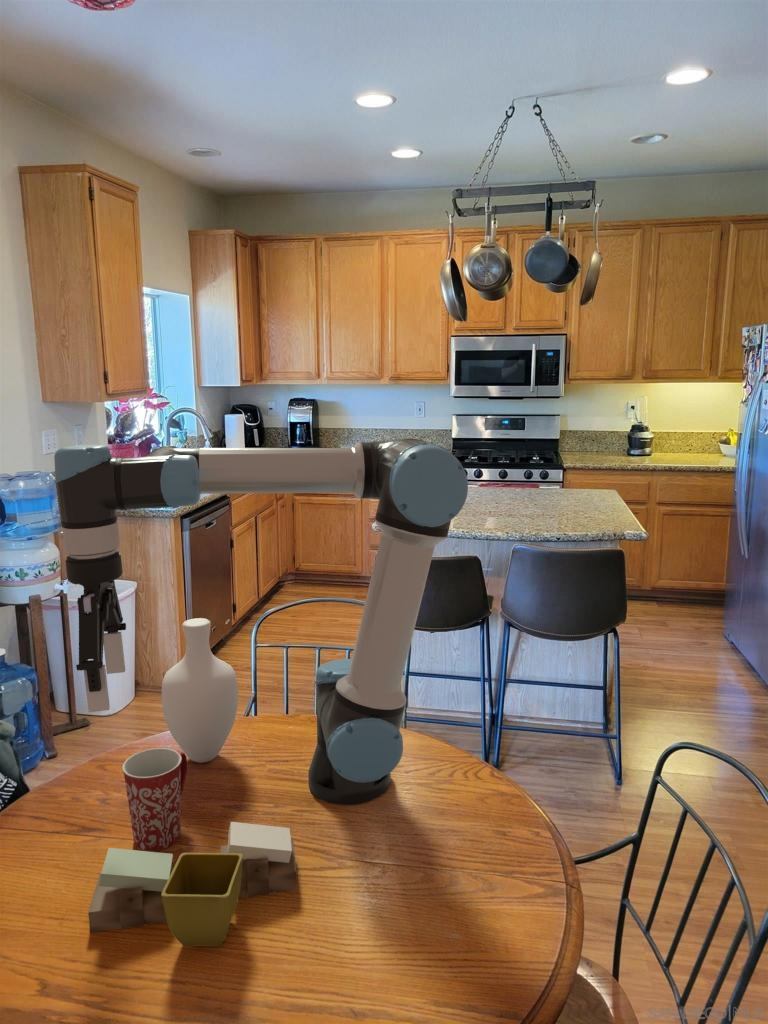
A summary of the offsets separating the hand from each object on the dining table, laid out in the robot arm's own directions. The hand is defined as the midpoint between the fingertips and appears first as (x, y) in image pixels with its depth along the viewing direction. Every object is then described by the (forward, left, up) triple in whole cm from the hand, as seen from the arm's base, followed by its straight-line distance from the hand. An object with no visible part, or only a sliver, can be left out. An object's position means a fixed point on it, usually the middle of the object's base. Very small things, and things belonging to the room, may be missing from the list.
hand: (108, 690), depth 109 cm
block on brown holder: (-21, +9, -27) cm, 36 cm away
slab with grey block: (-4, +12, -27) cm, 30 cm away
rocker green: (-4, +12, -23) cm, 27 cm away
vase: (-11, -28, -28) cm, 41 cm away
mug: (-6, -5, -28) cm, 29 cm away
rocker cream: (-21, +9, -23) cm, 33 cm away
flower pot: (-14, +19, -28) cm, 37 cm away
